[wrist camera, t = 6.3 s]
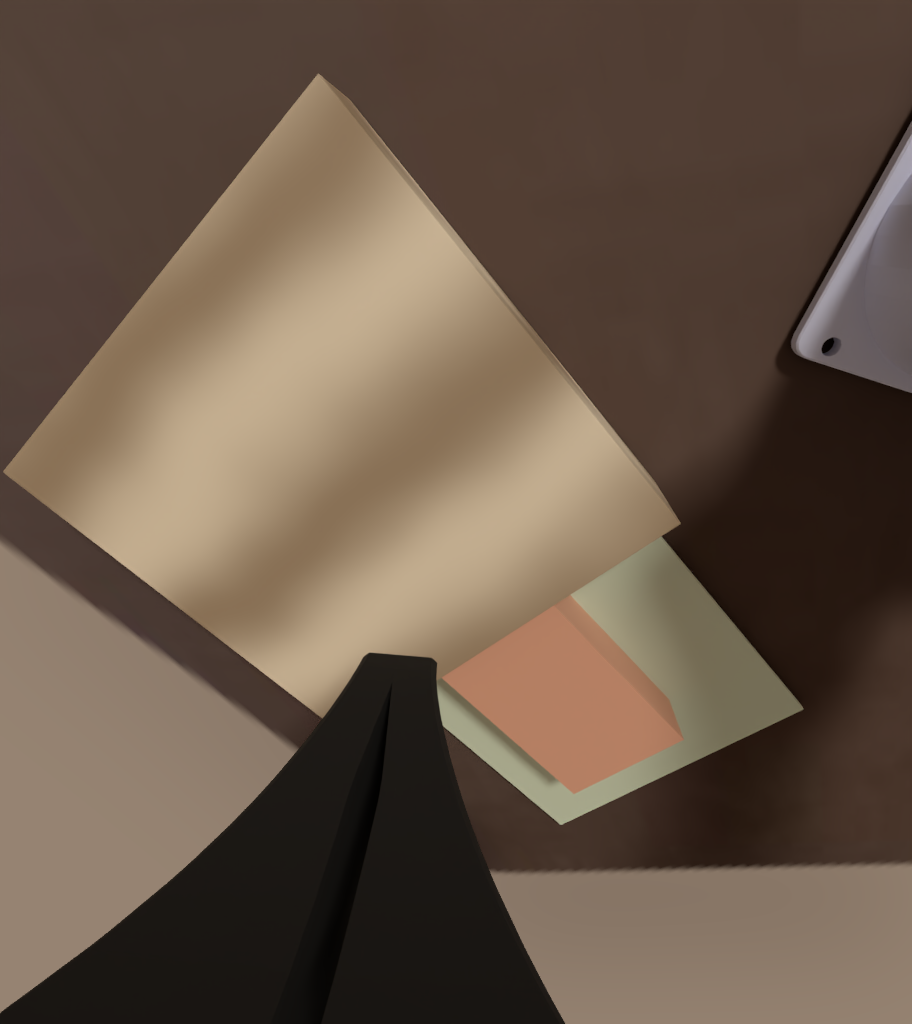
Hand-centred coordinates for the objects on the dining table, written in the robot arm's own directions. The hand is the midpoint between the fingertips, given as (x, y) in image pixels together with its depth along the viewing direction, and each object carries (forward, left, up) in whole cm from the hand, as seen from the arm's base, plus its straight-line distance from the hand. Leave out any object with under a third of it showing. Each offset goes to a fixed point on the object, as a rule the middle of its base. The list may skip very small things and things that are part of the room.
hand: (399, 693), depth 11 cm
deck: (+3, 0, -9) cm, 10 cm away
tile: (-7, +6, -9) cm, 13 cm away
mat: (-8, +7, -9) cm, 14 cm away
